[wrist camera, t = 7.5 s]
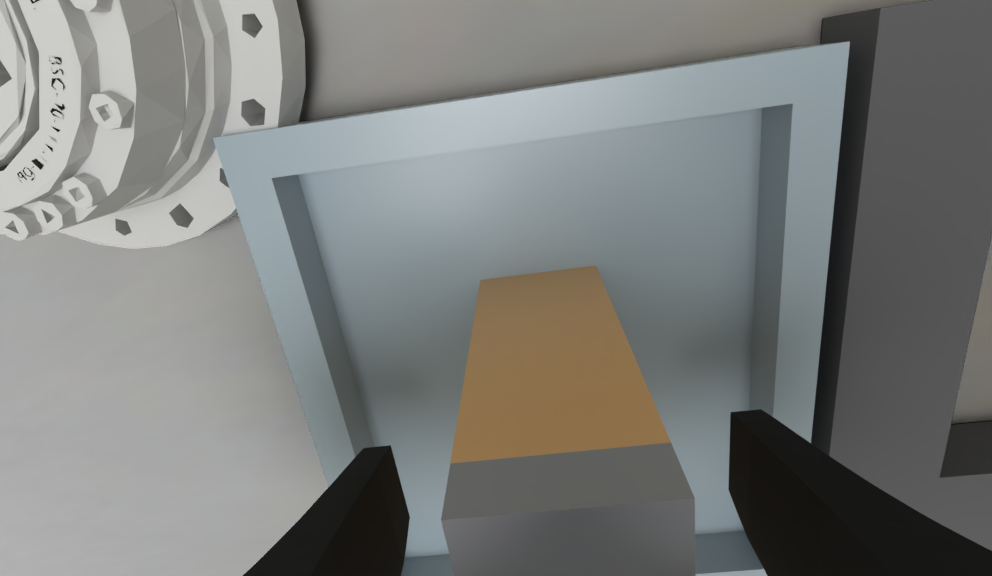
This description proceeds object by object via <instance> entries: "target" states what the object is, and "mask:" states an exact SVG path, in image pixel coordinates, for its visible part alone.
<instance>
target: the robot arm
mask: <svg viewBox="0 0 992 576" xmlns="http://www.w3.org/2000/svg"><path fill="white" fill-rule="evenodd" d="M728 490H729V492H730V495H731V498H732V500H733V503H734V506H735V508H736V511H737V513H738V516H739V518H740V521H741V523H742V526H743V528H744V531H745V533H746V536H747V538H748V540H749V542H750V544H751V546H752V547H753V549H754V551H755V553H756V555H757V557H758V559H759V561H760V562H761V564H762V566H763V568H764V570H765V572H766V574H767V576H992V551H991V550H989V549H987V548H985V547H983V546H981V545H979V544H977V543H975V542H974V541H972V540H970V539H968V538H966V537H964V536H962V535H960V534H958V533H956V532H955V531H953V530H951V529H949V528H947V527H945V526H943V525H941V524H939V523H938V522H936V521H934V520H932V519H930V518H929V517H927V516H925V515H923V514H921V513H920V512H918V511H916V510H915V509H913V508H911V507H910V506H908V505H906V504H905V503H903V502H901V501H900V500H898V499H896V498H894V497H893V496H891V495H889V494H888V493H886V492H884V491H883V490H881V489H879V488H878V487H876V486H875V485H873V484H872V483H870V482H868V481H867V480H865V479H864V478H862V477H860V476H859V475H857V474H856V473H854V472H853V471H851V470H850V469H848V468H847V467H845V466H844V465H842V464H841V463H839V462H838V461H836V460H835V459H833V458H832V457H830V456H829V455H827V454H826V453H824V452H823V451H821V450H820V449H818V448H817V447H815V446H814V445H813V444H811V443H810V442H808V441H807V440H805V439H804V438H802V437H801V436H800V435H798V434H797V433H795V432H794V431H792V430H791V429H790V428H788V427H787V426H785V425H784V424H782V423H781V422H779V421H778V420H777V419H775V418H774V417H772V416H771V415H769V414H768V413H766V412H765V411H763V410H762V409H758V410H748V411H738V412H731V415H730V452H729V488H728ZM409 520H410V516H409V512H408V508H407V504H406V501H405V497H404V493H403V489H402V486H401V482H400V478H399V474H398V471H397V467H396V463H395V459H394V456H393V452H392V448H391V445H389V446H379V447H368V448H363V449H362V450H361V451H360V453H359V454H358V455H357V456H356V457H355V458H354V459H353V460H352V461H351V463H350V464H349V465H348V466H347V467H346V468H345V469H344V470H343V472H342V473H341V474H340V475H339V476H338V477H337V479H336V480H335V481H334V482H333V483H332V484H331V485H330V486H329V488H328V489H327V490H326V491H325V492H324V493H323V494H322V495H321V497H320V498H319V499H318V500H317V501H316V502H315V503H314V504H313V505H312V506H311V508H310V509H309V510H308V511H307V512H306V513H305V514H304V515H303V516H302V517H301V519H300V520H299V521H298V522H297V523H296V524H295V525H294V526H293V527H292V528H291V529H290V530H289V531H288V532H287V533H286V534H285V535H284V536H283V537H282V538H281V539H280V540H279V541H278V542H277V543H276V544H275V545H274V546H273V547H272V548H271V549H270V550H269V551H268V552H267V553H266V554H265V555H264V556H263V557H262V558H261V559H260V560H259V561H258V562H257V563H256V564H255V565H254V566H253V567H252V568H251V569H250V570H248V571H247V572H246V573H245V574H244V575H243V576H401V573H402V569H403V565H404V559H405V552H406V545H407V537H408V528H409Z"/></svg>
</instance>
